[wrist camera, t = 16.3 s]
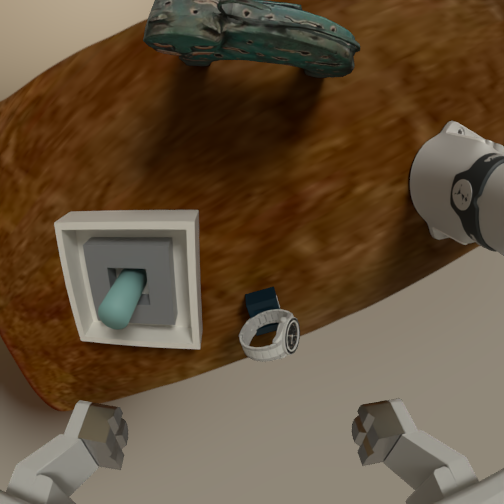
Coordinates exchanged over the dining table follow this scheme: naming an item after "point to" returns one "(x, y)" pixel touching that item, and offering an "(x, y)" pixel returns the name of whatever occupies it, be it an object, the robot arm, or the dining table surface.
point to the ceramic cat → (250, 35)
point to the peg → (122, 298)
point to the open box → (135, 256)
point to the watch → (269, 326)
